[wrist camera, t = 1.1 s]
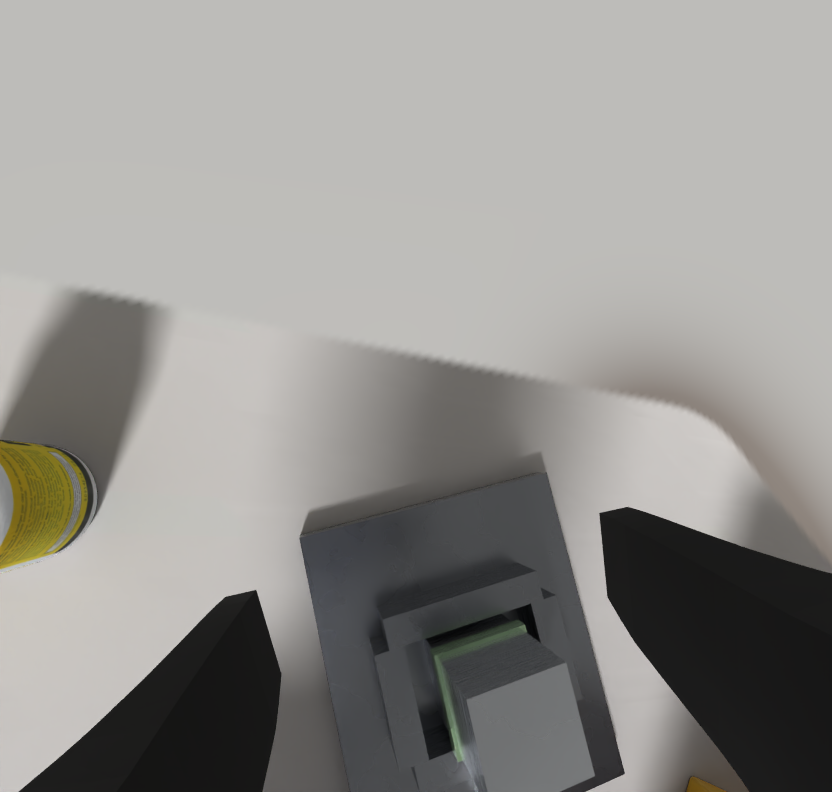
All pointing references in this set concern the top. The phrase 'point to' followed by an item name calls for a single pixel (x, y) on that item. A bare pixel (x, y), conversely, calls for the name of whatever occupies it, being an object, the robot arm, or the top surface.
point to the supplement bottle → (41, 502)
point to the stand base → (442, 624)
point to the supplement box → (701, 786)
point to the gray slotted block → (508, 708)
